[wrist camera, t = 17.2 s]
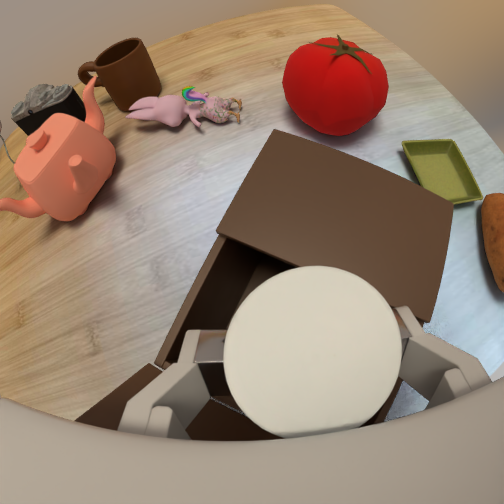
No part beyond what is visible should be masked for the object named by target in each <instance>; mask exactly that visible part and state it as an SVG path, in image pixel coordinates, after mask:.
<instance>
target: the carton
mask: <svg viewBox="0 0 504 504" xmlns="http://www.w3.org/2000/svg"><path fill="white" fill-rule="evenodd" d="M453 207H454V203H452V202H450V201H448V200H446V199H445V198H443V197H441V196H439V195H437V194H435V193H433V192H431V191H429V190H427V189H425V188H423V187H421V186H419V185H417V184H415V183H413V182H411V181H409V180H407V179H405V178H403V177H401V176H398V175H396V174H394V173H392V172H390V171H387V170H385V169H383V168H381V167H378V166H376V165H374V164H371V163H369V162H366V161H364V160H362V159H359V158H357V157H354V156H352V155H349V154H346V153H344V152H341V151H339V150H336V149H333V148H330V147H328V146H325V145H322V144H319V143H316V142H313V141H310V140H307V139H304V138H301V137H298V136H295V135H292V134H289V133H286V132H282V131H279V130H276V129H274V130H273V131H272V133H271V135H270V136H269V138H268V140H267V142H266V143H265V145H264V147H263V148H262V150H261V152H260V153H259V155H258V157H257V158H256V160H255V162H254V164H253V165H252V167H251V169H250V170H249V172H248V174H247V176H246V177H245V179H244V181H243V183H242V184H241V186H240V188H239V190H238V191H237V193H236V195H235V197H234V199H233V200H232V202H231V204H230V206H229V208H228V209H227V211H226V213H225V215H224V217H223V218H222V220H221V222H220V224H219V226H218V227H217V229H216V232H217V234H219V235H218V237H217V239H216V241H215V243H214V245H213V247H212V249H211V250H210V252H209V254H208V256H207V258H206V260H205V262H204V264H203V266H202V268H201V269H200V271H199V273H198V275H197V277H196V279H195V281H194V283H193V285H192V287H191V289H190V291H189V293H188V295H187V297H186V299H185V301H184V303H183V305H182V307H181V309H180V311H179V313H178V315H177V317H176V319H175V321H174V323H173V325H172V327H171V329H170V331H169V333H168V335H167V337H166V339H165V341H164V343H163V345H162V347H161V349H160V351H159V353H158V356H157V358H156V360H155V362H154V364H155V365H157V366H159V367H160V368H162V369H164V370H166V369H167V368H168V367H169V366H171V365H172V364H173V363H177V362H178V359H179V355H180V352H181V348H182V344H183V341H184V338H185V334H186V332H187V331H188V330H202V329H228V328H229V325H230V323H231V320H232V318H233V316H234V314H235V313H236V311H237V310H238V308H239V307H240V305H241V304H242V302H243V301H244V300H245V299H246V298H247V296H248V295H249V294H250V293H251V292H252V291H253V290H255V289H256V288H257V287H258V286H260V285H261V284H262V283H264V282H265V281H266V280H268V279H270V278H271V277H273V276H276V275H278V274H280V273H282V272H285V271H288V270H291V269H295V268H299V267H305V266H327V267H334V268H338V269H341V270H345V271H347V272H350V273H352V274H354V275H356V276H358V277H360V278H362V279H363V280H365V281H366V282H368V283H369V284H370V285H372V286H373V287H374V288H375V289H376V290H377V291H378V292H379V293H380V294H381V295H382V296H383V297H384V299H385V300H386V302H387V303H388V304H389V306H390V307H391V309H393V308H396V307H401V306H408V307H409V309H410V310H411V312H412V313H413V315H414V316H415V318H416V319H417V321H418V322H419V324H420V326H421V327H423V324H424V322H425V323H430V320H431V317H432V314H433V310H434V306H435V303H436V299H437V295H438V291H439V287H440V283H441V279H442V274H443V270H444V265H445V260H446V255H447V249H448V243H449V237H450V231H451V224H452V216H453ZM402 381H403V380H402V379H401V378H400V377H399V376H398V378H397V380H396V383H395V385H394V387H393V390H392V391H391V393H390V395H389V397H388V398H387V400H386V401H385V403H384V404H383V405H382V406H381V408H380V409H379V410H378V411H377V412H376V413H375V414H374V415H373V416H372V417H371V418H370V419H369V420H368V421H366V422H365V423H364V424H363V425H361V426H360V427H365V426H369V425H374V424H378V423H382V422H384V420H385V418H386V416H387V414H388V412H389V410H390V408H391V406H392V403H393V401H394V399H395V397H396V395H397V393H398V390H399V388H400V386H401V383H402ZM211 397H213V398H215V399H217V400H219V401H221V402H223V403H225V404H227V405H229V406H231V407H233V408H235V409H237V410H239V411H241V412H243V411H242V410H241V408H240V407H239V406H238V404H237V403H236V401H235V399H234V398H233V396H232V395H231V396H211ZM243 413H244V412H243ZM360 427H358V428H360Z"/></svg>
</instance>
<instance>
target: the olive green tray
mask: <svg viewBox="0 0 504 504" xmlns="http://www.w3.org/2000/svg"><path fill="white" fill-rule="evenodd" d="M402 146H403V149H404V152H405V154H406V156H407V158H408V160H409V162H410V164H411V166H412V168H413V170H414V172H415V174H416V176H417V178H418V180H419V183H420V185H421V187H423V188H425V189H427V190H429V191H431V192H433V193H435V194H437V195H439V196H441V197H443V198H445V199H446V200H448V201H450V202H452V203H454V204H460V203H465V202H471V201H477V200H482V199H483V196H482V193H481V191H480V189H479V187H478V184H477V182H476V180H475V178H474V176H473V174H472V172H471V170H470V168H469V166H468V165H467V163H466V161H465V159H464V157H463V155H462V153H461V152H460V150H459V148H458V146H457V145H456V143H455V141H453V140H451V139H435V140H410V141H402Z"/></svg>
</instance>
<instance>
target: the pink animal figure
mask: <svg viewBox="0 0 504 504" xmlns="http://www.w3.org/2000/svg"><path fill="white" fill-rule="evenodd" d="M193 88H195V87H192V86H187V87H185V88H183V90H182V95H183V97H184V98H185V99H186V100H188V101H194V102H193V104H191V105H186V101H185V100H184V98H182V97H180V96H177V95H167V96H163V97H161V98H158V97H145V98H142V99H140V100H138V101H137V102H135V103H134V104H133V105H132V106H131V107H130V108H129V110H137V109H142V110H137V111H134V112H132V113H130V114H129V115H127V116H126V117H125V118H133V119H141V120H157V121H160V122H162V123H164V124H166V125H169V126H172V127H175V126H178V125H180V124H181V122H182V120H183V119H185V118H186V117H187V114H189V117H190V119H191V121H192V122H193V123H194V124H195V125H196V126H197V127H200V126H201V123H200V122H198V121H197V120H196V118H201V117H207V118H208V119H210V120H212V121H214V122H216V123H224V122H226V121H227V119H228V117H229V116H230V115H231V114H233V115H235V116H236V118H237V122H238V123H239V119H240V114H239V113H240V112H238V114H236V113H234V112H232V111H229V109H230V106H231V104H232V103H233V102H237V103H238V105H239V109H240V110H241V108H240V107H241V105H242V102H241V99H240V100H239V101H238V100H236V99H234V98H230V99H223V98H220V97H210V98H207V96H208V95H209V93H204V94H201V93H198V92H195V91H192V89H193ZM201 101H203V102H204V103H202V104H200V102H201Z"/></svg>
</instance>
